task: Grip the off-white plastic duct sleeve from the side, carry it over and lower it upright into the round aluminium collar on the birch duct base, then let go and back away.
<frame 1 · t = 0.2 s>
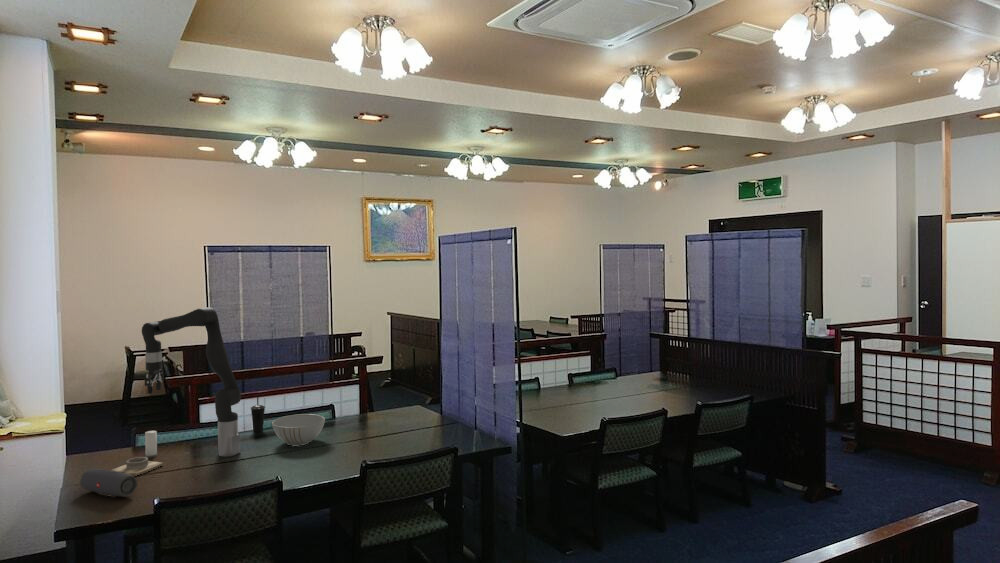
hand: (154, 391, 322), 29 cm above the table, tool pointing down, fingers open, 8 cm apart
duct base: (137, 469, 289), on the table
drinking cup: (258, 431, 351), on the table
bluetooth speaker: (108, 495, 259), on the table
decorative bowl: (299, 443, 330), on the table
duct sleeve: (151, 456, 308), on the table
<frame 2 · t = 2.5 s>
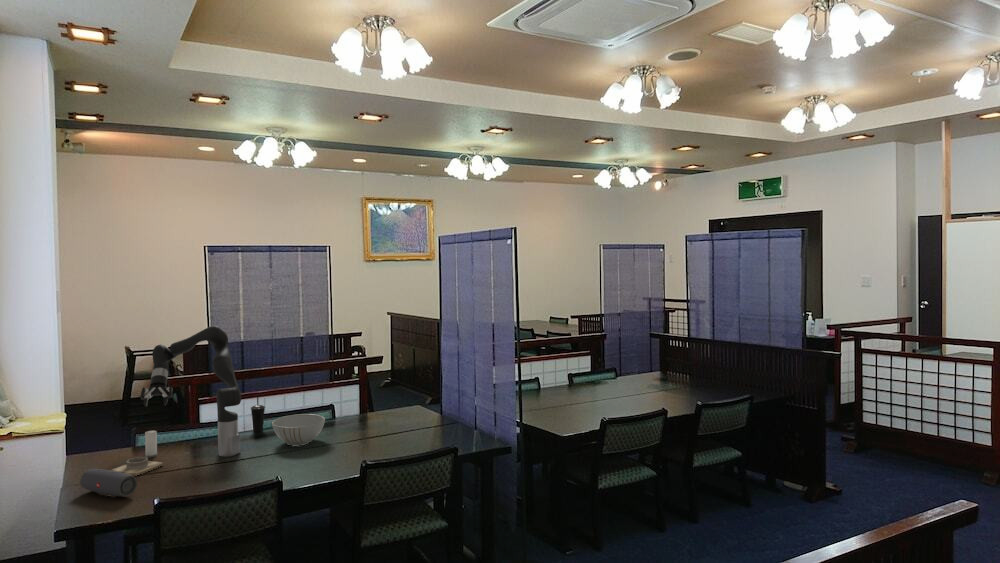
hand: (155, 405, 318), 23 cm above the table, tool tilted 45°, fingers open, 8 cm apart
nothing on the table moved.
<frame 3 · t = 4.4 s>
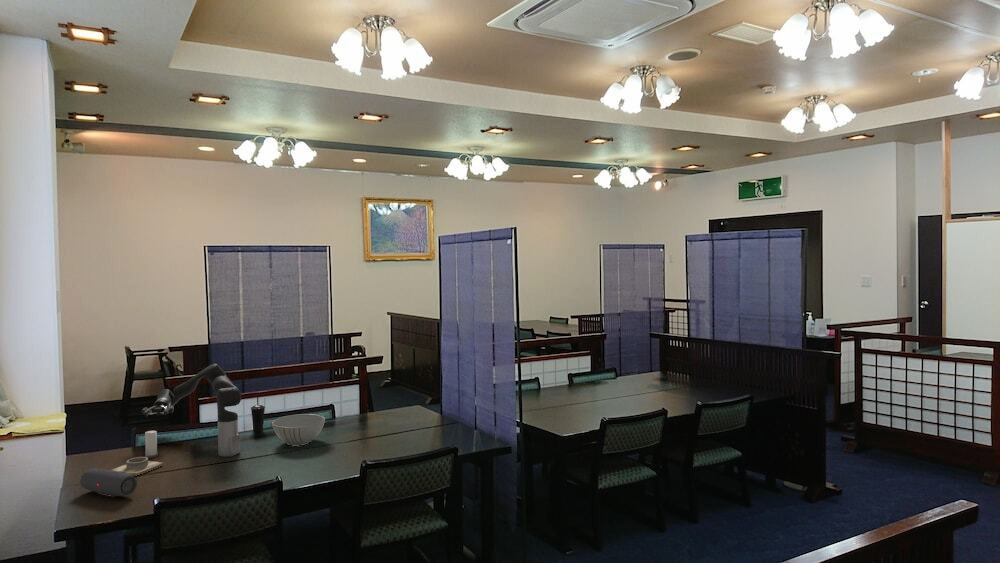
hand: (155, 413, 318), 18 cm above the table, tool horizontal, fingers open, 8 cm apart
nothing on the table moved.
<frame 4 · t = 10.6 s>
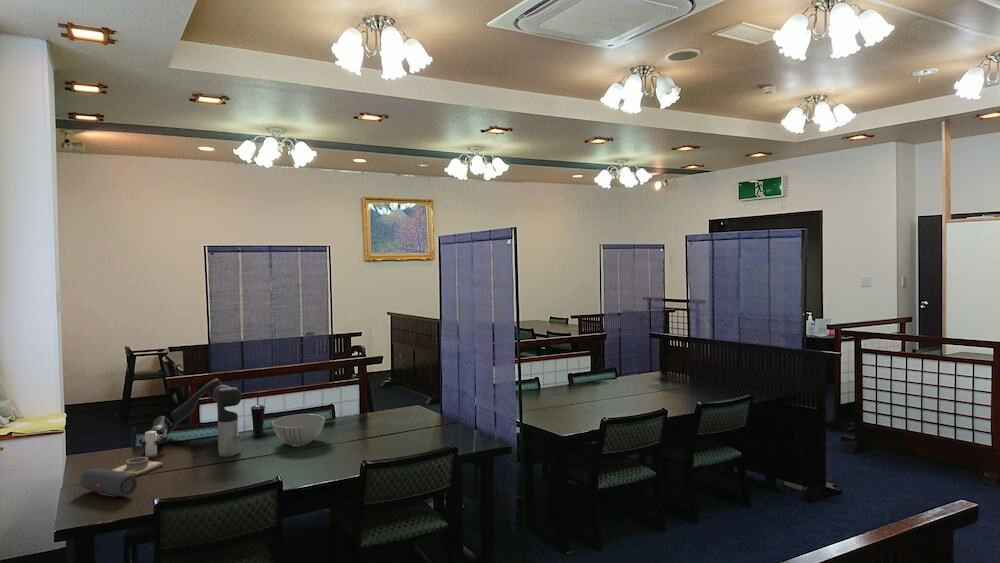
hand: (149, 443, 305), 7 cm above the table, tool horizontal, fingers closed on duct sleeve, 5 cm apart
duct sleeve: (151, 456, 308), on the table, touching gripper
everything else where it was.
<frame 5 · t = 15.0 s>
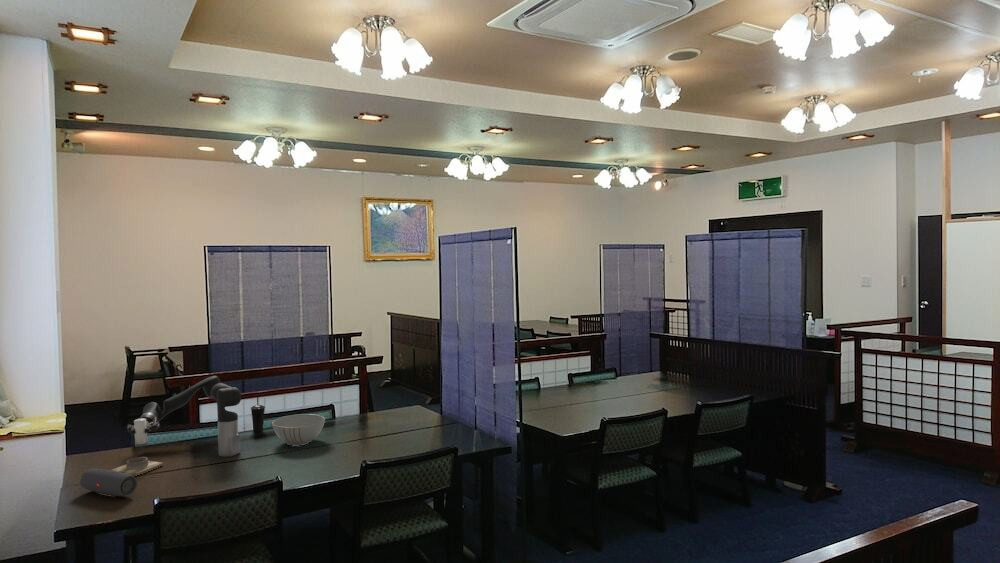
hand: (139, 431, 292), 16 cm above the table, tool horizontal, fingers closed on duct sleeve, 5 cm apart
duct sleeve: (141, 444, 295), point 10 cm above the table, touching gripper
everything else where it was.
when the fingers open (10 cm above the table, at t = 19.3 s): duct sleeve drops 1 cm, resting on duct base.
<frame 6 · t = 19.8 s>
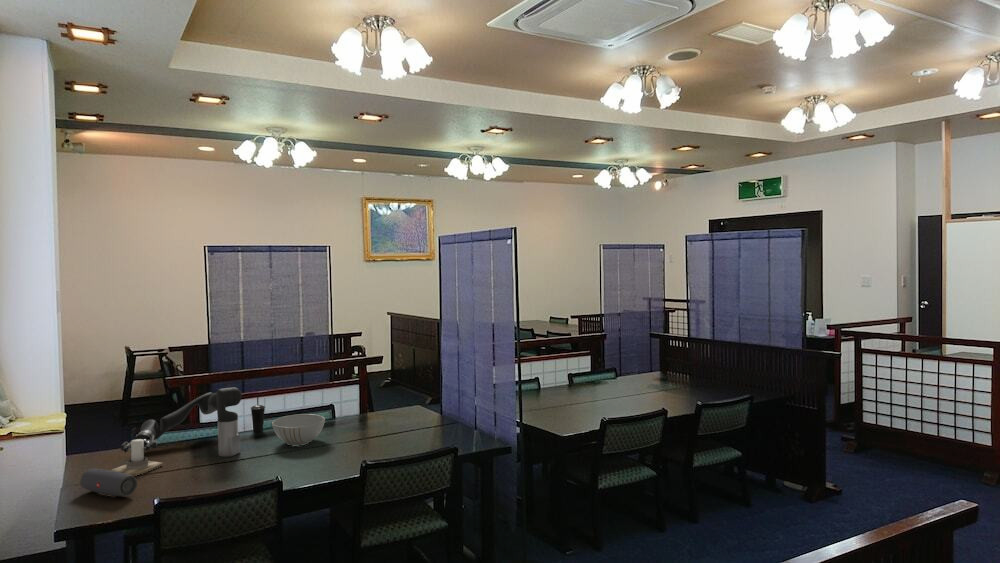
hand: (136, 449, 287), 10 cm above the table, tool horizontal, fingers open, 8 cm apart
duct sleeve: (137, 466, 289), point 2 cm above the table, touching duct base
everything else where it was.
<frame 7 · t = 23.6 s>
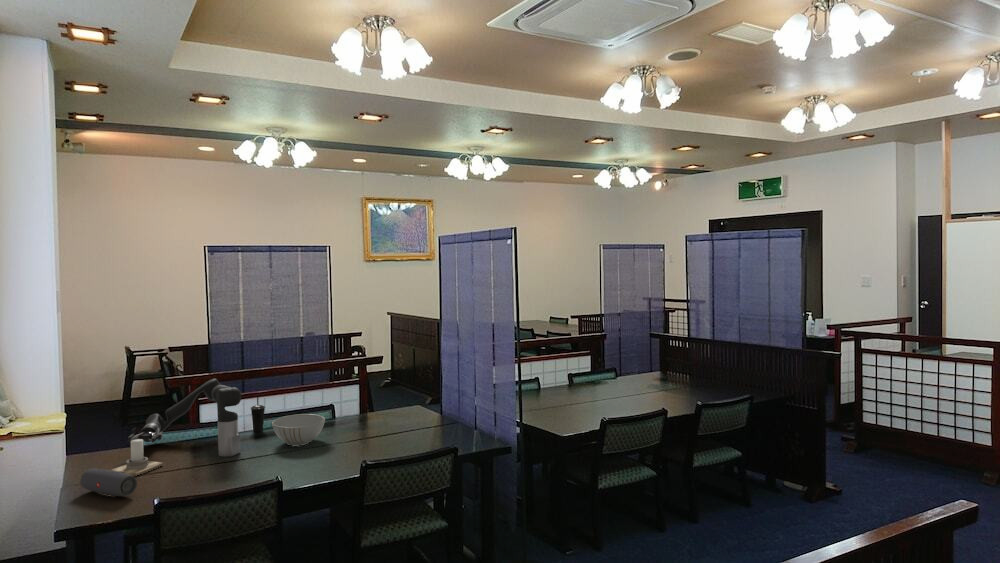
hand: (142, 441, 299), 10 cm above the table, tool horizontal, fingers open, 8 cm apart
nothing on the table moved.
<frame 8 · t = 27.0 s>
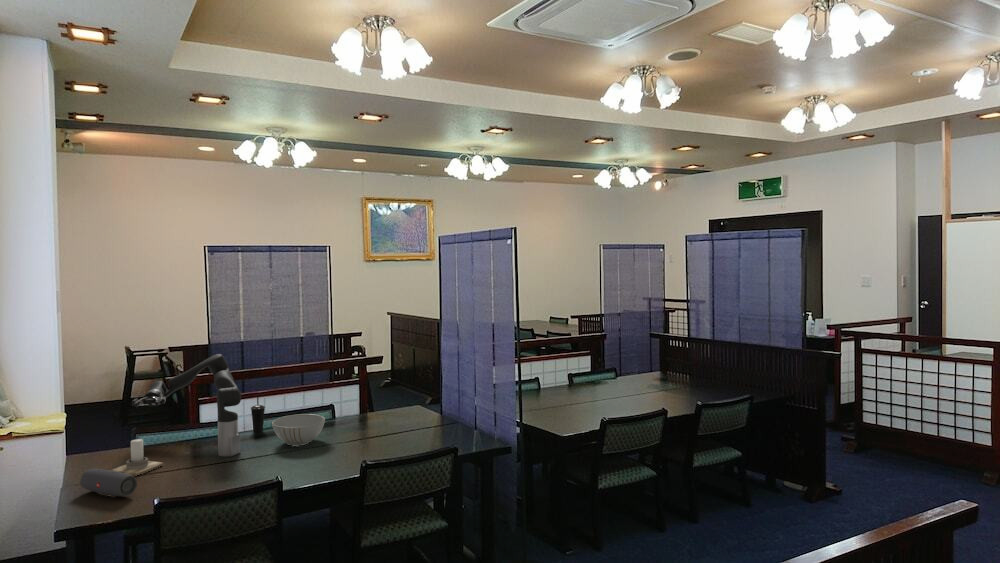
hand: (146, 404, 306), 26 cm above the table, tool horizontal, fingers open, 8 cm apart
nothing on the table moved.
at the end: duct sleeve 0.1 cm off-centre on the duct base, point 1.5 cm above the duct base's base; duct sleeve tilted 0°; the gripper is holding nothing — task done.
